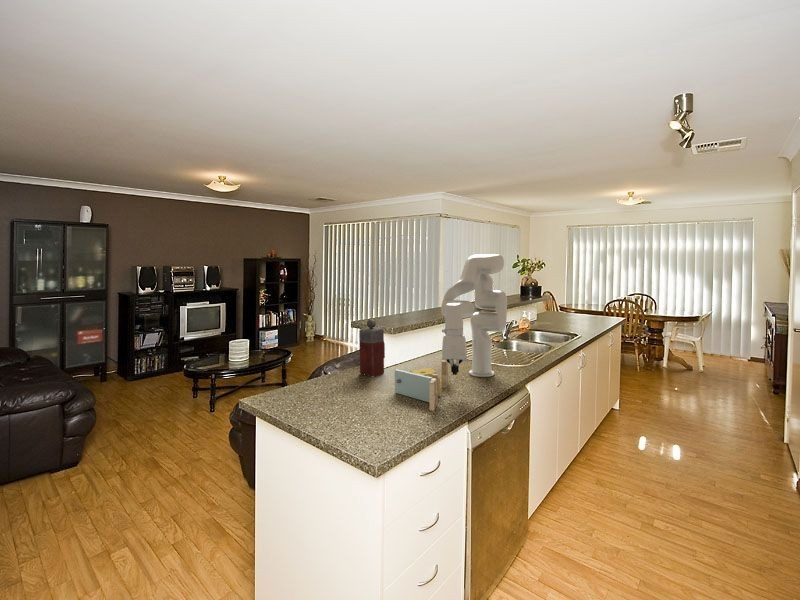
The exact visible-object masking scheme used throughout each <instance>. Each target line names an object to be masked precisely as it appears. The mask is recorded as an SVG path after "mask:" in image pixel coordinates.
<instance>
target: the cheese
mask: <svg viewBox="0 0 800 600" xmlns="http://www.w3.org/2000/svg"><path fill="white" fill-rule="evenodd" d="M409 372H411V373H415V374H420V375H424V376H428V377H432V375H433V374H438V372H437V371H436V370H434V369H433V368H431V367H426V368H425V367H424V368H422V369H421V368H420V369H414V370H409ZM440 384H441V379H440V377H439V376H438V397H439V396H441V393H442V390H441V387H440Z"/></svg>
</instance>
